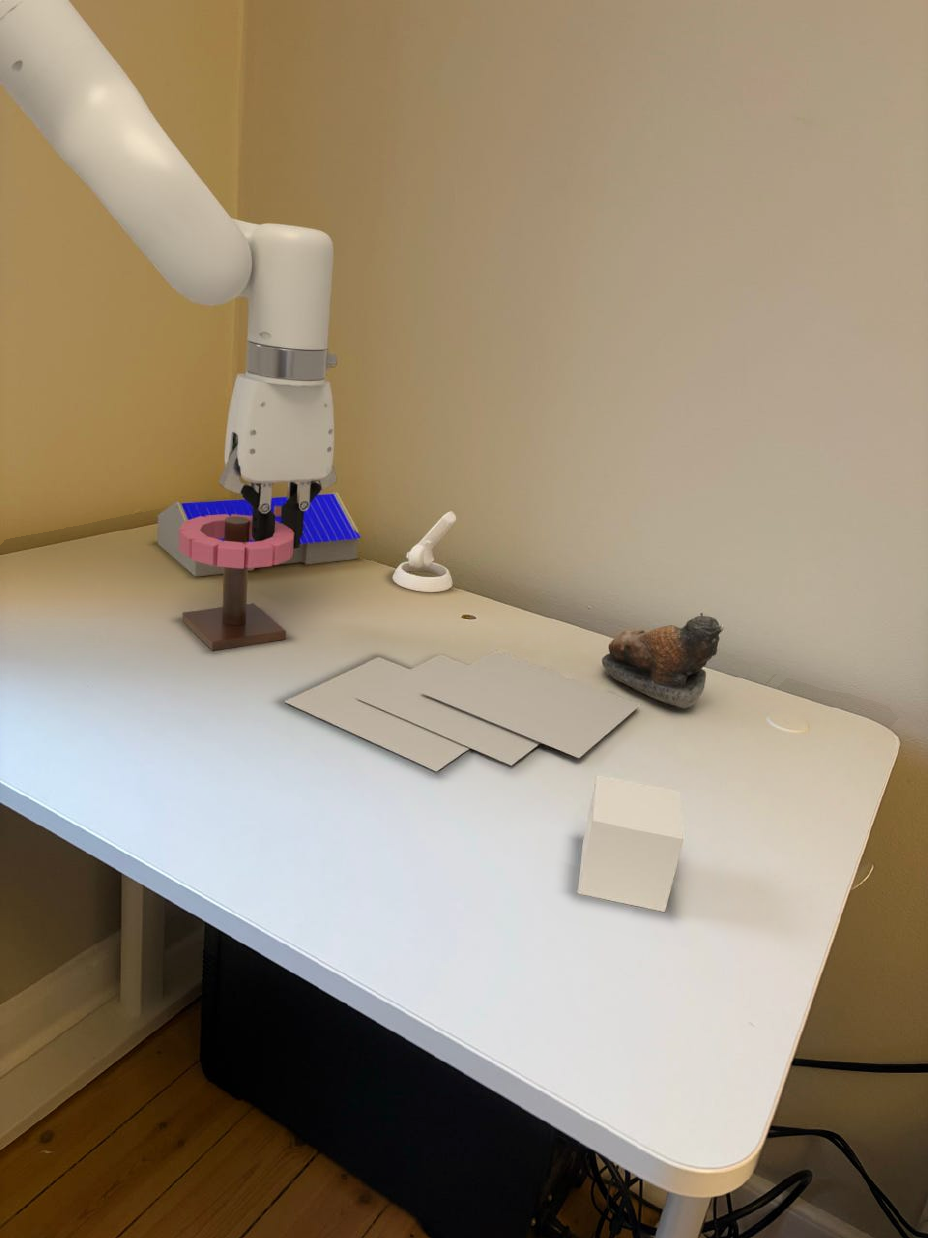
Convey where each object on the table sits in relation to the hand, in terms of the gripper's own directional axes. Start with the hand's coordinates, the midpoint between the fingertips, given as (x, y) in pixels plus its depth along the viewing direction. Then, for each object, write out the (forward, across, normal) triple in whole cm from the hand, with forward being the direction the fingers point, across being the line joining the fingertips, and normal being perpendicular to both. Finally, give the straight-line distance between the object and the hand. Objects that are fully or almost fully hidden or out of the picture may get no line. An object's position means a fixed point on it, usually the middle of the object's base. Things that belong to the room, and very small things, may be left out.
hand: (276, 544), depth 95 cm
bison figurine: (+9, -29, +29) cm, 42 cm away
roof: (+9, -9, -22) cm, 25 cm away
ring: (0, +4, 0) cm, 4 cm away
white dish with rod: (+9, -24, -6) cm, 26 cm away
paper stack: (+9, -9, +24) cm, 27 cm away
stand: (+9, +4, 0) cm, 10 cm away
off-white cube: (+9, -4, +49) cm, 50 cm away
